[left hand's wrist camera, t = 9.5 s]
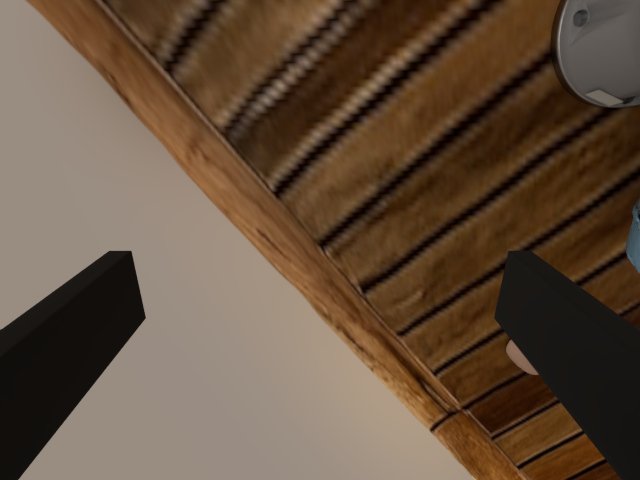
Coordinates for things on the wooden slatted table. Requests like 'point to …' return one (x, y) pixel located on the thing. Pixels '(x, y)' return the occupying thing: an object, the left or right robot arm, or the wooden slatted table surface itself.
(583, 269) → the wooden slatted table surface
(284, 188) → the wooden slatted table surface
